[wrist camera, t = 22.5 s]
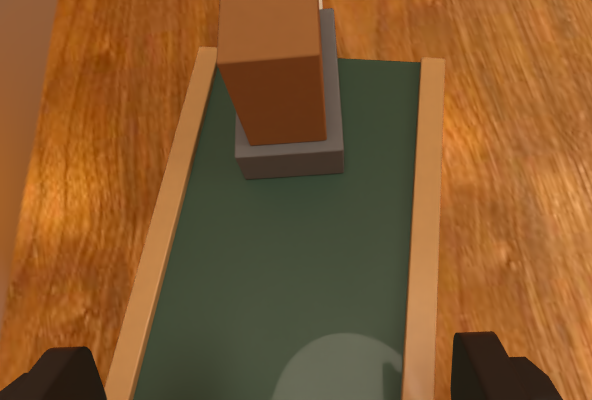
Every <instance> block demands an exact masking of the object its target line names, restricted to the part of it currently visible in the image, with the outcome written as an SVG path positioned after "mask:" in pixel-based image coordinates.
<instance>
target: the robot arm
mask: <svg viewBox="0 0 592 400" xmlns="http://www.w3.org/2000/svg"><path fill="white" fill-rule="evenodd" d="M0 400H107V397H106V393H105V390H104V388H103V385H102V382H101V379H100V376H99V373H98V370H97V367H96V364H95V361H94V358H93V356H92V353H91V351H90V350H89V349H88V348H87V347H60V348H50V349H48V350H47V351H46V352H45V353H44V354H43V355H42V356H41V358H40V359H39V360H38V361H37V363H36V364H35V365H34V366H33V368H32V369H31V370H30V371H29V373H24V374H22V375H21V376H20V377H18V378H17V379H16V380H14V381H13V382H12V383H11V384H9V385H8V386H7V387H5V388H4V389H3V390H2V391H0ZM451 400H563V399H562V397H561V396H560V394H559V393H558V391H557V389H556V388H555V386H554V385H553V383H552V381H551V380H550V378H549V377H548V376H547V375H546V374H545V373H544V372H543V371H541V370H540V369H539V368H538V367H537V366H535V365H534V364H533V363H532V362H531V361H529V360H528V359H527V358H526V357H508V355H507V353H506V351H505V349H504V348H503V346H502V344H501V342H500V340H499V339H498V337H497V335H496V334H495V333H494V332H492V331H490V332H465V333H455V335H454V340H453V355H452V372H451Z"/></svg>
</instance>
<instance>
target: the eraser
mask: <svg viewBox="0 0 592 400" xmlns="http://www.w3.org/2000/svg"><path fill="white" fill-rule="evenodd" d="M216 63H217V66H218V68H219V71H220V73H221V76H222V78H223V80H224V83H225V85H226V88H227V90H228V93H229V95H230V97H231V100H232V102H233V105H234V107H235V110H236V126H235V159H236V161H237V163H238V165H239V167H240V169H241V171H242V173H243V175H244V177H245V179H262V178H277V177H292V176H307V175H323V174H338V173H344V143H343V130H342V116H341V102H340V89H339V75H338V62H337V48H336V34H335V21H334V10H333V9H332V8H330V9H320V10H319V0H220V4H219V23H218V42H217V61H216Z"/></svg>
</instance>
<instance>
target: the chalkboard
mask: <svg viewBox="0 0 592 400" xmlns="http://www.w3.org/2000/svg"><path fill="white" fill-rule="evenodd" d="M216 61H217V47H199V50H198V54H197V57H196V61H195V65H194V68H193V72H192V75H191V79H190V83H189V86H188V90H187V93H186V97H185V100H184V104H183V108H182V111H181V115H180V118H179V122H178V126H177V129H176V133H175V136H174V140H173V144H172V147H171V151H170V154H169V158H168V162H167V165H166V169H165V172H164V176H163V179H162V183H161V187H160V190H159V194H158V197H157V201H156V205H155V208H154V212H153V215H152V219H151V223H150V226H149V230H148V233H147V237H146V241H145V244H144V248H143V251H142V255H141V258H140V262H139V266H138V269H137V273H136V276H135V280H134V284H133V287H132V291H131V294H130V298H129V302H128V305H127V309H126V312H125V316H124V320H123V323H122V327H121V330H120V334H119V337H118V341H117V345H116V348H115V352H114V355H113V359H112V363H111V366H110V370H109V373H108V377H107V381H106V384H105V388H104V390H105V393H106V397H107V400H434V382H435V352H436V322H437V292H438V262H439V233H440V203H441V173H442V143H443V113H444V83H445V59H443V58H421V62H400V61H381V60H361V59H341V58H337V62H338V75H339V89H340V102H341V116H342V130H343V143H344V173H338V174H323V175H307V176H292V177H277V178H262V179H245V177H244V175H243V173H242V171H241V169H240V167H239V165H238V163H237V161H236V159H235V126H236V110H235V107H234V105H233V102H232V100H231V97H230V95H229V93H228V90H227V88H226V85H225V83H224V80H223V78H222V76H221V73H220V71H219V68H218V66H217V63H216Z"/></svg>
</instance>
